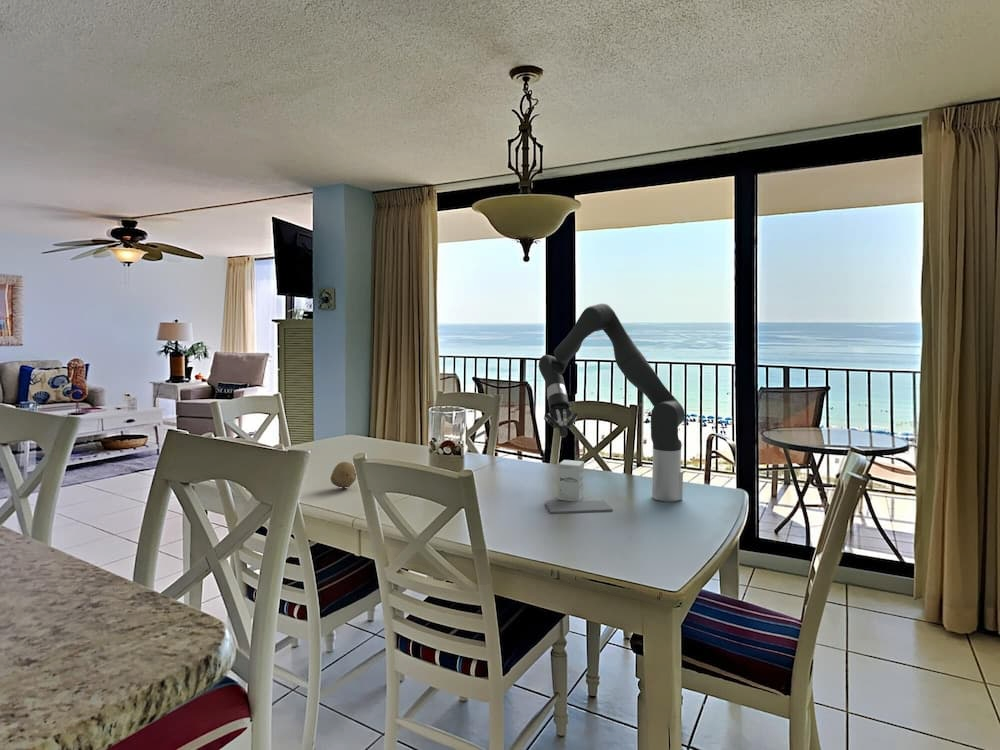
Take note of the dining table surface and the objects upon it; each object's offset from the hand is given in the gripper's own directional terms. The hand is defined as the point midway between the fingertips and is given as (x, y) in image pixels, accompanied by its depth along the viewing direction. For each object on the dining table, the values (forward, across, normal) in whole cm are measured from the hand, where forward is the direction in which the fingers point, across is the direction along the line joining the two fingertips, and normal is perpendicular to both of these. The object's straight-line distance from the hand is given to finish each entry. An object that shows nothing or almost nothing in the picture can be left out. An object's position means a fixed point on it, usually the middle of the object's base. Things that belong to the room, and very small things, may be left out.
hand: (564, 436), depth 216 cm
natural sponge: (+8, -79, +20) cm, 82 cm away
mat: (+30, 0, -2) cm, 30 cm away
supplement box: (+22, 0, +5) cm, 23 cm away
